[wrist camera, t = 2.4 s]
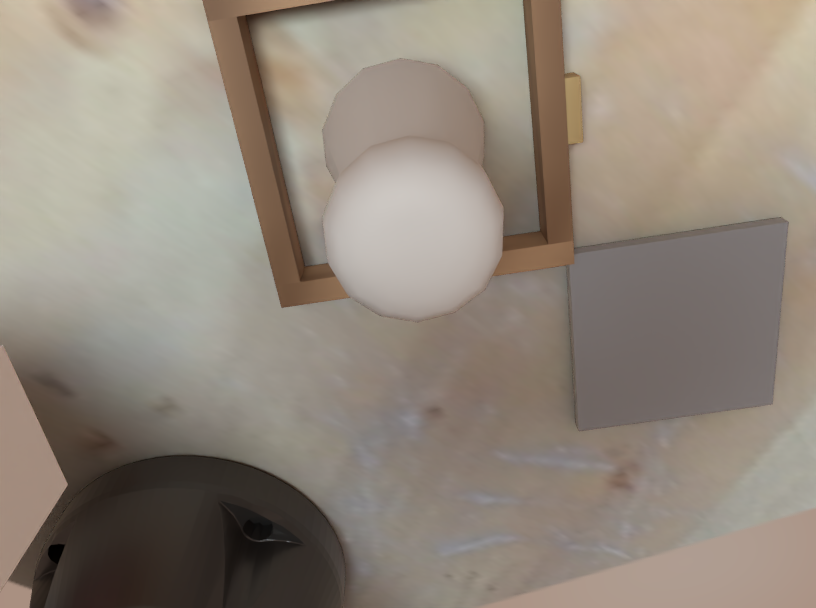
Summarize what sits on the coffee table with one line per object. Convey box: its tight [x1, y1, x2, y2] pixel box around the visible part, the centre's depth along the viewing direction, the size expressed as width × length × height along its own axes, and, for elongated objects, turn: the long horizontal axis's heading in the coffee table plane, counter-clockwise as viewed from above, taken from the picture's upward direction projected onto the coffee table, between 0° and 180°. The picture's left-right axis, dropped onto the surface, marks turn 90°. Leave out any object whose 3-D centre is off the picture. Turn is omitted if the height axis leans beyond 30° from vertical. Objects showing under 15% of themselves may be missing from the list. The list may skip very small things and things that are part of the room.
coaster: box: [566, 217, 788, 431], centre depth 31 cm, size 9×9×1 cm
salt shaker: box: [322, 58, 504, 322], centre depth 21 cm, size 6×6×13 cm
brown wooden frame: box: [202, 0, 583, 308], centre depth 26 cm, size 13×12×2 cm
